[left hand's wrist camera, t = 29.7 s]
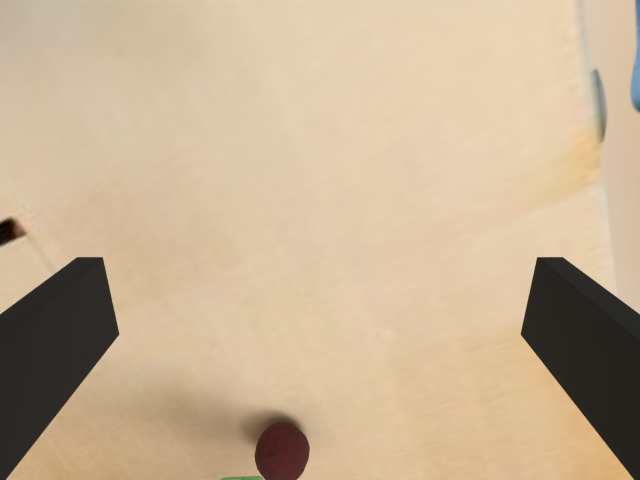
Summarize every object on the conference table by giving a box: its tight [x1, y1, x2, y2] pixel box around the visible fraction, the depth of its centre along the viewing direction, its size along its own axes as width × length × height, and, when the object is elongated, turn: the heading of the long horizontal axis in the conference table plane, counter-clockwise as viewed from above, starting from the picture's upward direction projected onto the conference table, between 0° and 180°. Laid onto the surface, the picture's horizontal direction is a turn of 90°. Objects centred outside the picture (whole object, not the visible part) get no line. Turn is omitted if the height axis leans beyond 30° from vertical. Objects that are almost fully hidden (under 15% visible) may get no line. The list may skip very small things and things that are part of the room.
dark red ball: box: [255, 423, 310, 480], centre depth 56 cm, size 7×8×7 cm
